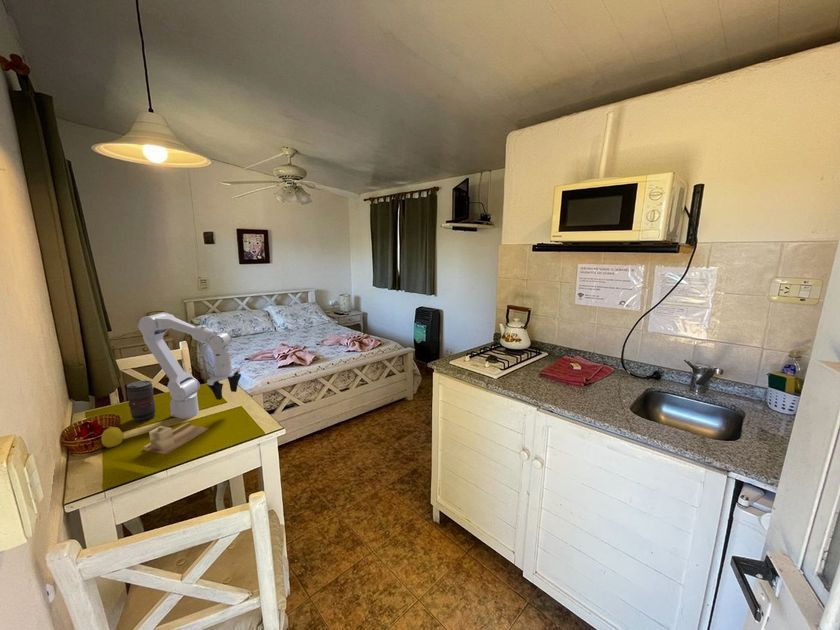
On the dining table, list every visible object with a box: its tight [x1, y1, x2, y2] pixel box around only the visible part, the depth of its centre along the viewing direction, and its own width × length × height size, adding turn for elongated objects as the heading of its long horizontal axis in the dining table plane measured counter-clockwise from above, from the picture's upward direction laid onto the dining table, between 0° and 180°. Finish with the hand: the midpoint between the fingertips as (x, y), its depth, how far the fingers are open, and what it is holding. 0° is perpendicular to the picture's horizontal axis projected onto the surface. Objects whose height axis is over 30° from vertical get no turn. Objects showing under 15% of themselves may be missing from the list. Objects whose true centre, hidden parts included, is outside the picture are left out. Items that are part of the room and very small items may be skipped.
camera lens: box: [126, 380, 156, 423], centre depth 139 cm, size 8×8×15 cm
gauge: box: [148, 425, 174, 450], centre depth 118 cm, size 5×4×7 cm
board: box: [142, 422, 210, 455], centre depth 123 cm, size 10×17×3 cm, turn 166°
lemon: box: [101, 426, 124, 448], centre depth 119 cm, size 6×6×8 cm
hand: (226, 395), depth 139 cm, fingers open, 7 cm apart
